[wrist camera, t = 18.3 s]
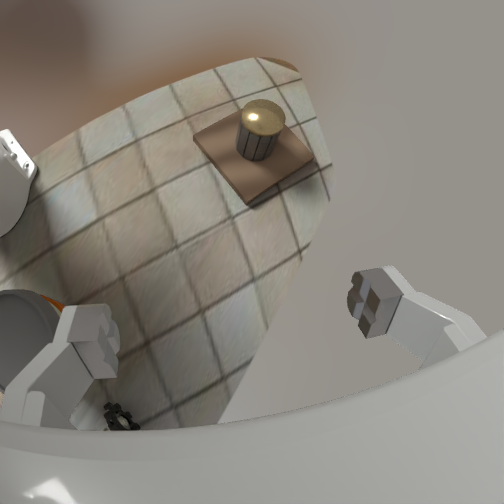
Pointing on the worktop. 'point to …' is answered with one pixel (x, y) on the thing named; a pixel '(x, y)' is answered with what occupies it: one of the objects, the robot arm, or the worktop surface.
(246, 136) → the gold-topped grooved cylinder
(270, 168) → the post board
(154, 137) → the worktop surface
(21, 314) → the reusable coffee cup
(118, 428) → the valve
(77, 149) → the worktop surface
